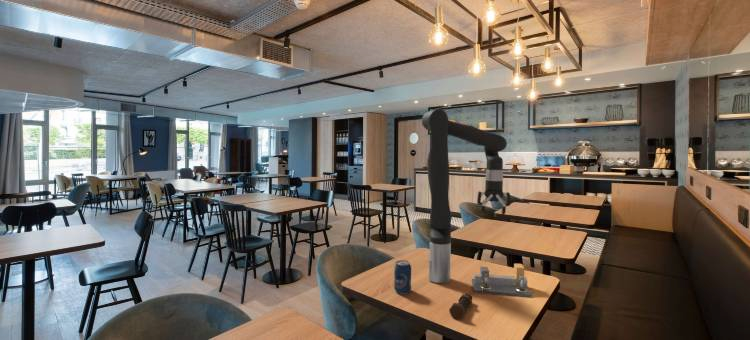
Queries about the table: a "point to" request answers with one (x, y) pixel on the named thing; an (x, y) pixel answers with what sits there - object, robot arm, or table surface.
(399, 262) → the soda can
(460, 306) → the dark brown lobed piece
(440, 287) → the table surface
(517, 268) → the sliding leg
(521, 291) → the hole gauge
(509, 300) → the table surface
